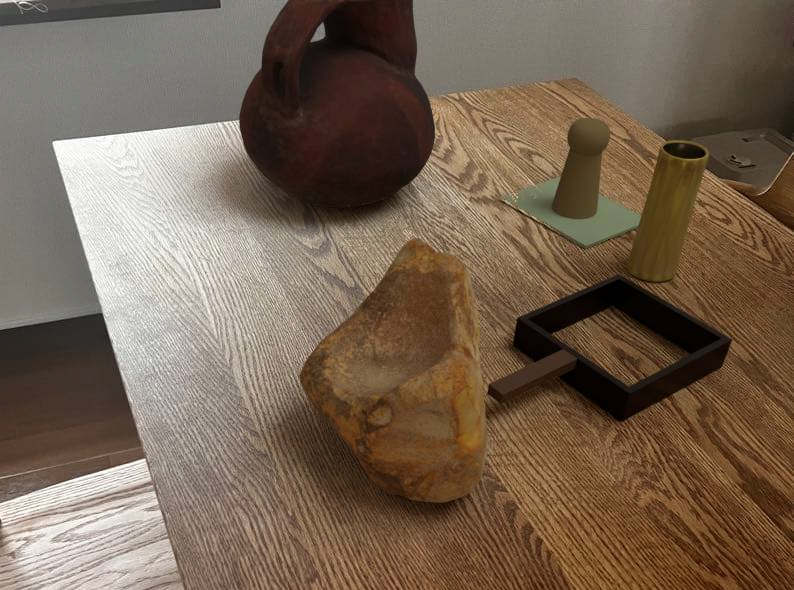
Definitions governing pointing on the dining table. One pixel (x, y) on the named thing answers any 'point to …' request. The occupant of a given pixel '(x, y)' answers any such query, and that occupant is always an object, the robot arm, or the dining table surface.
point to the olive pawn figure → (582, 169)
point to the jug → (339, 103)
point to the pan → (592, 379)
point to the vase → (667, 211)
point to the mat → (581, 231)
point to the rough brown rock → (408, 379)
